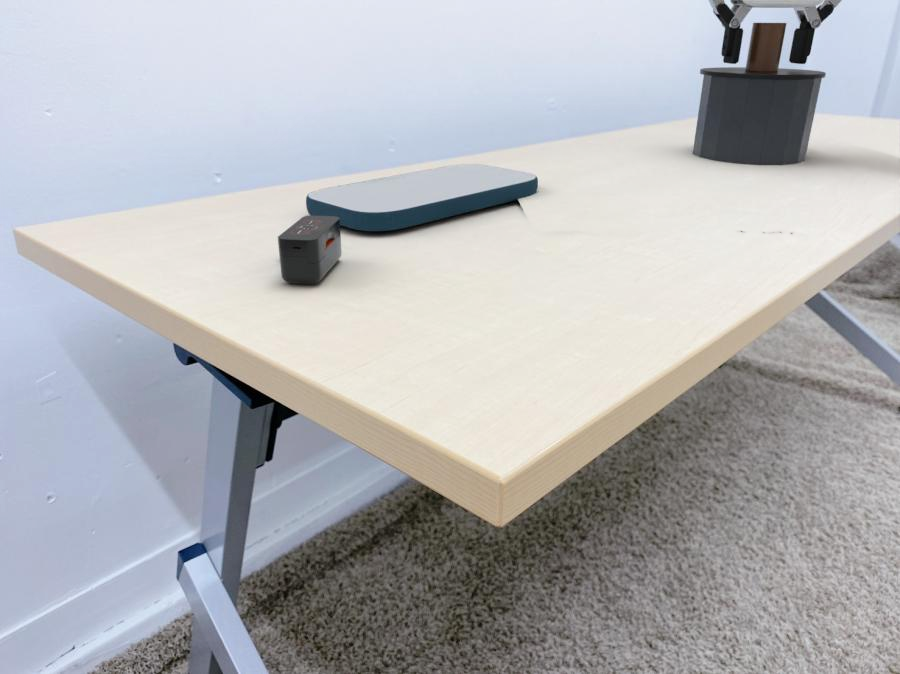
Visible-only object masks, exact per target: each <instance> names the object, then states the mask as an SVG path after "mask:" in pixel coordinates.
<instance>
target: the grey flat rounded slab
mask: <svg viewBox="0 0 900 674" xmlns="http://www.w3.org/2000/svg"><path fill="white" fill-rule="evenodd" d="M538 186H539V179H538V177H537V175H535V174H534V173H530V172H525V171H522V170H521V171H520V170H515V169H511V168H504V167H498V166H495V165H494V166H493V165H486V164H480V163H479V164H478V163H465V164H464V163H463V164H462V163H461V164H452V165H446V166H439V167H435V168H434V167H433V168H429V169H424V170H418V171H412V172H407V173H402V174H396V175H391V176H385V177H380V178H375V179H369V180H363V181H358V182H353V183H352V182H351V183H347V184H342V185H335V186H331V187H330V186H329V187H326V188H321V189H317V190H313V191H311V192H309V193H308V194H307V195H306V197H305V206H306V211H307V213H308V215H309V216H335V217H339V218H340V226H342V227H345V228H349V229H353V230H356V231H363V232H386V231H394V230H400V229H405V228H409V227H413V226H417V225H422V224H426V223H429V222H434V221H437V220H442V219H445V218H446V219H447V218H450V217H453V216H458V215H462V214H465V213H470V212H473V211H478V210H482V209H484V208H485V209H486V208H490V207H494V206H497V205H501V204H506V203H510V202H513V201H517V200H519V199H523V198H525V197H526V198H527V197H530V196H532V195H534V194H536V193H537V191H538Z"/></svg>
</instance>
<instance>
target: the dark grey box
mask: <svg viewBox="0 0 900 674" xmlns="http://www.w3.org/2000/svg"><path fill="white" fill-rule="evenodd" d="M341 237H342V235H341V225H340V218H339V217H335V216H311V215H305V216H302V217H301V218H299V219H298V220H297V221H296V222H295V223H293V224H292V225H290V226H289V227H288V228H287V229H286V230H285V231H283V232H282V233H281V234H279V235H278V236H277V245H278V255H279V266H280V267H279V268H280V276H281V278H282V280H283V282H285V283H288V284H294V285H295V284H297V285H299V284H300V285H316V284H319V282H321V280H322V279H323V278H324V277H325V276H326V274H327V273H328V272H329V271H330V270H331V269H332V268H333V267H334V266H335V265H336V263H337V262H339V260H340V259H341V257H342V254H343V253H342V238H341Z"/></svg>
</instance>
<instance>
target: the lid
mask: <svg viewBox="0 0 900 674" xmlns="http://www.w3.org/2000/svg"><path fill="white" fill-rule="evenodd" d="M786 29H787V22H753V23H752V27H751V32H750V33H751V34H750V37H749V38H750V39H749V45H748V51H747V56H746V62H745V66H744V67H742V66H739V67H737V66H735V67H733V66H729V67H728V66H727V67H726V66H723V67H721V66H720V67H703V68H700V70H699V74H700V75H702V76H704V75H709V76H718V77H732V78H752V79H818V78H822V79H824V78H826V75H827V73H826V72H825V71H821V70H814V69H813V70H811V69H802V68H801V69H800V68H799V69H797V68H784V67H783V68H780V62H781V56H782V51H783V44H784V40H785V34H786Z"/></svg>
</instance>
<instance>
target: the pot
mask: <svg viewBox="0 0 900 674" xmlns="http://www.w3.org/2000/svg"><path fill="white" fill-rule="evenodd" d="M822 79H823V78H818V79H752V78H732V77H718V76H709V75H703V79H702V86H701V93H700V98H699V107H698V113H697V121H696V127H695V134H694V141H693V149H692V155H694V156H696V157H698V158H701V159H705V160H710V161H713V162H714V161H715V162H719V163H720V162H722V163H730V164H735V165H751V166H788V165H797V164H800V163H802V162H806V161H805V160H806V157H807V151H808V146H809V141H810V138H811V133H812V127H813V123H814V117H815V114H816V107H817V103H818V98H819V94H820V88H821V84H822Z"/></svg>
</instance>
